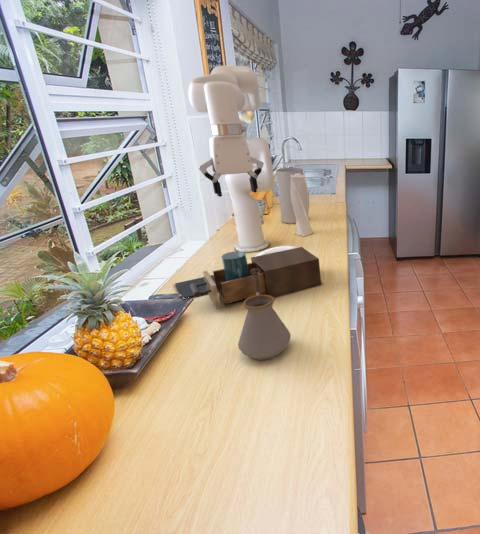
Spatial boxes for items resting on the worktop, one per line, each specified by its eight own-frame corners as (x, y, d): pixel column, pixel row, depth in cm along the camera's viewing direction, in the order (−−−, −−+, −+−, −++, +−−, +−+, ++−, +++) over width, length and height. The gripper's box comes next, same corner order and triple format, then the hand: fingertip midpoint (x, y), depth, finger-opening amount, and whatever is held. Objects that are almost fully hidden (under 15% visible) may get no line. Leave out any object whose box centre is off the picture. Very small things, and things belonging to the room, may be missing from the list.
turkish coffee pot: (295, 358, 86) (286, 298, 81) (240, 370, 83) (227, 308, 77) (285, 314, 105) (278, 263, 99) (240, 322, 101) (230, 270, 95)
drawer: (199, 313, 104) (193, 290, 101) (191, 296, 114) (186, 274, 111) (272, 293, 115) (269, 272, 112) (259, 279, 124) (256, 259, 121)
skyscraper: (316, 233, 173) (310, 169, 163) (304, 237, 167) (297, 171, 157) (304, 230, 177) (297, 168, 166) (292, 234, 171) (284, 170, 161)
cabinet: (268, 298, 114) (264, 271, 110) (255, 283, 124) (250, 257, 121) (321, 284, 123) (318, 258, 119) (304, 270, 133) (301, 246, 130)
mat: (175, 285, 123) (175, 283, 123) (218, 275, 130) (218, 273, 130) (181, 300, 113) (181, 298, 113) (228, 288, 120) (227, 287, 120)
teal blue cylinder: (226, 288, 116) (219, 254, 111) (248, 283, 119) (242, 249, 115) (232, 298, 110) (225, 262, 106) (255, 292, 113) (249, 257, 109)
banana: (311, 254, 148) (306, 269, 134) (261, 258, 147) (251, 273, 133) (309, 242, 146) (304, 256, 133) (259, 246, 145) (248, 260, 131)
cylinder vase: (284, 217, 198) (278, 168, 189) (309, 216, 199) (304, 167, 190) (280, 224, 187) (273, 172, 177) (306, 223, 188) (301, 171, 178)
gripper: (254, 130, 113) (263, 189, 119) (189, 132, 104) (202, 195, 110) (262, 130, 108) (271, 192, 114) (194, 132, 98) (207, 199, 104)
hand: (237, 193), depth 112 cm, fingers open, 9 cm apart
